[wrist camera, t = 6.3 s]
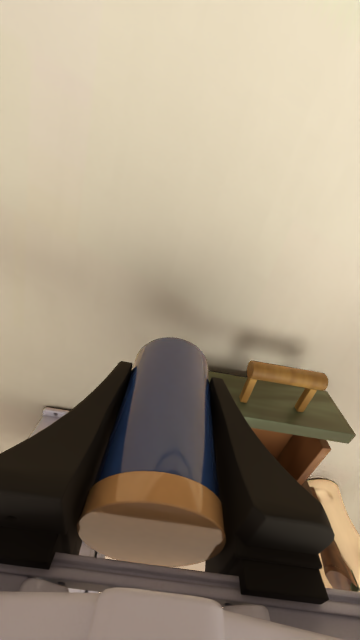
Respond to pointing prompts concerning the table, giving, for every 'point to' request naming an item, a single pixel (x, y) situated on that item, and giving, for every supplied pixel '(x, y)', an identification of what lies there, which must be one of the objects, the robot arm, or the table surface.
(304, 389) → the drawer
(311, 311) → the table surface
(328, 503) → the beer glass
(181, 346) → the jar
